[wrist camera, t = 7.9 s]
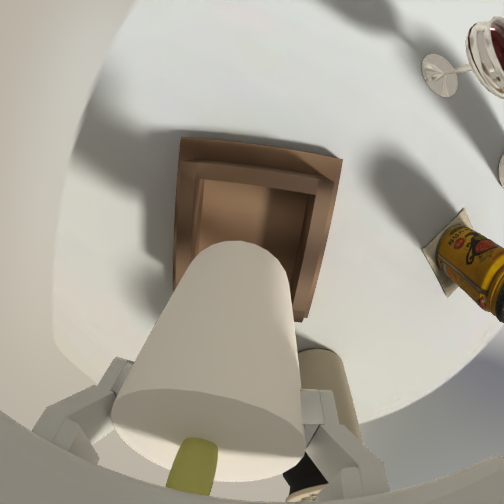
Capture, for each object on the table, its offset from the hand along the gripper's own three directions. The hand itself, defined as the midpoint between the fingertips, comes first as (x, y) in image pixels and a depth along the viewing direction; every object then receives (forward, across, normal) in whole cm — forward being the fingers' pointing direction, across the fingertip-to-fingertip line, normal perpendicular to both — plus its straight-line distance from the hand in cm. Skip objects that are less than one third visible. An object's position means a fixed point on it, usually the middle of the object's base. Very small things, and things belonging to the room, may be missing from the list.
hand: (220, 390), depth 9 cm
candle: (+8, 0, 0) cm, 8 cm away
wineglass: (+19, -17, -20) cm, 33 cm away
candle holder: (+19, 0, 0) cm, 19 cm away
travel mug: (+19, -10, +17) cm, 28 cm away
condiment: (+19, -24, -1) cm, 31 cm away
